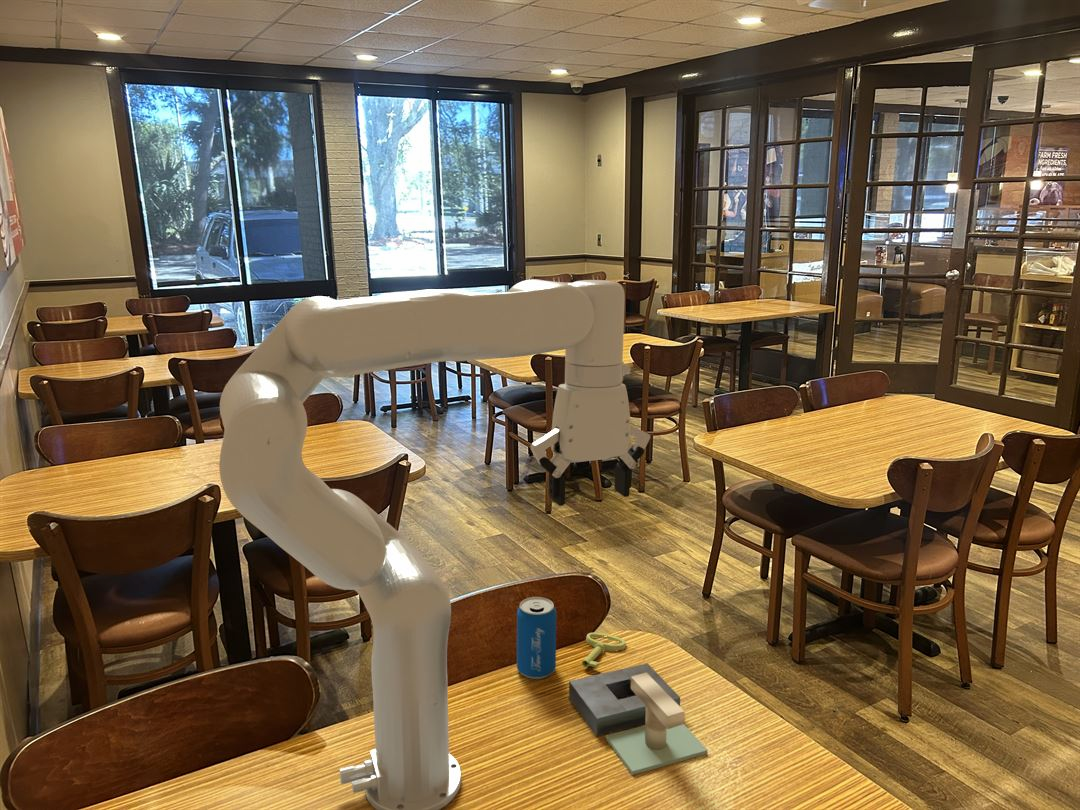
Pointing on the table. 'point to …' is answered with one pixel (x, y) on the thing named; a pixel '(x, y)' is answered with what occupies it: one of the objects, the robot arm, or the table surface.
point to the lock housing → (613, 699)
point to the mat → (644, 758)
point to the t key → (656, 710)
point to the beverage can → (536, 637)
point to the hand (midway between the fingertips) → (590, 498)
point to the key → (600, 647)
